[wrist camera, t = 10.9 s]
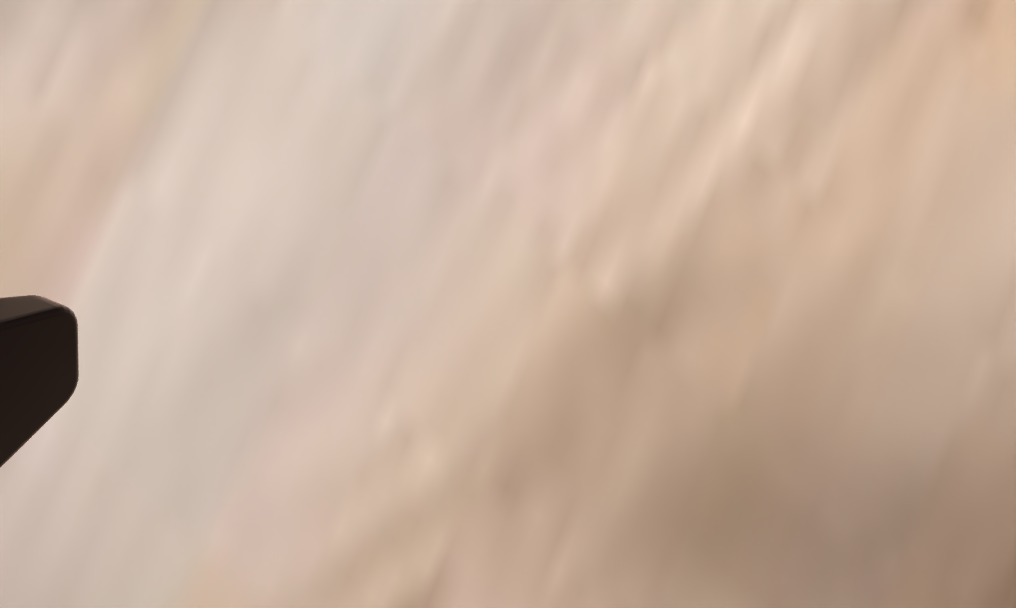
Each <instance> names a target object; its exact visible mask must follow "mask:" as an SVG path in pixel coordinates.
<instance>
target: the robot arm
mask: <svg viewBox="0 0 1016 608" xmlns="http://www.w3.org/2000/svg"><path fill="white" fill-rule="evenodd" d="M78 375H79V371H78V324H77V319H76V317H75V314H74V312H73V311H72V310H70V309H69V308H68V307H66V306H64V305H61V304H59V303H56V302H54V301H52V300H49V299H47V298H44V297H41V296H36V295H28V296H17V297H6V298H0V467H1V466H2V465H3V464H4V463H5V462H6V461H8V460H9V459H10V458H11V457H12V456H13V455H14V454H15V453H16V452H17V451H18V450H19V449H20V448H21V447H22V446H23V445H24V444H25V443H26V442H27V441H28V440H29V439H30V438H31V437H32V436H33V435H34V434H35V433H36V432H37V431H38V430H39V429H40V428H41V427H42V426H43V425H44V424H45V423H46V422H47V421H48V420H49V419H50V418H51V417H52V416H53V415H54V414H55V413H56V412H57V411H58V410H59V409H60V408H61V407H62V406H63V405H64V404H65V403H66V402H67V401H68V400H69V399H70V397H71V396H72V394H73V393H74V390H75V388H76V386H77V382H78Z"/></svg>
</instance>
